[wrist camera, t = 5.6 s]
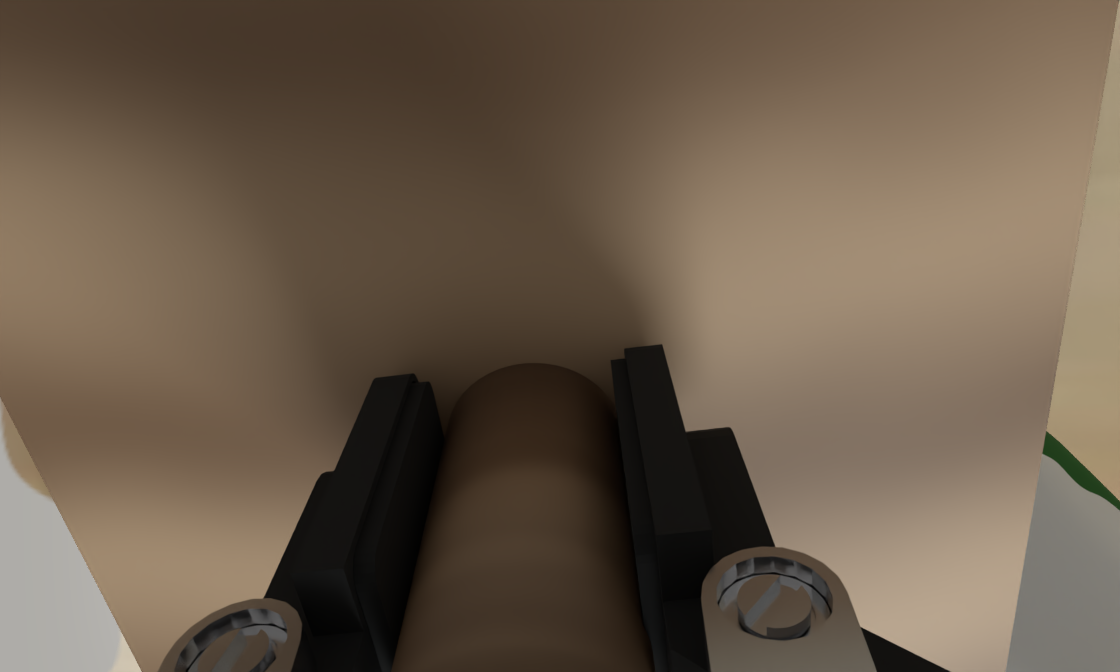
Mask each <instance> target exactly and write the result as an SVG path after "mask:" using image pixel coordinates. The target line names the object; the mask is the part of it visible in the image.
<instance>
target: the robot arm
mask: <svg viewBox="0 0 1120 672" xmlns="http://www.w3.org/2000/svg"><path fill="white" fill-rule="evenodd" d="M624 355H625V358H624V359H616V360H610V361H611V370H612V378H613V387H614V396H615V404H616V413H617V422H618V430H619V437H620V445H621V453H622V461H623V469H624V476H625V484H626V492H627V500H628V508H629V515H630V523H631V531H632V539H633V547H634V554H635V562H636V570H637V578H638V586H639V593H640V601H641V609H642V617H643V625H644V628H645V630H646V632H647V634H648V637H649V639H650V642H651V646H652V651H653V656H654V664H655V671H656V672H950V671H948V670H946V669H944V668H942V667H940V666H938V665H936V664H934V663H932V662H930V661H928V660H926V659H924V658H922V657H920V656H918V655H916V654H914V653H912V652H910V651H908V650H906V649H904V648H902V647H900V646H898V645H896V644H894V643H892V642H890V641H888V640H886V639H884V638H882V637H880V636H878V635H876V634H874V633H872V632H870V631H868V630H866V629H864V628H862V627H860V624H859V622H858V619H857V616H856V613H855V611H854V608H853V605H852V603H851V600H850V597H849V594H848V592H847V590H846V588H845V587H844V585H843V583H842V582H841V580H840V578H839V577H838V575H836V574H835V573H834V572H833V571H832V570H831V569H830V568H829V567H827V566H826V565H825V564H824V563H823V562H821V561H819V560H817V559H815V558H813V557H811V556H809V555H807V554H805V553H802V552H798V551H795V550H791V549H787V548H783V547H775V544H774V541H773V539H772V536H771V533H770V530H769V528H768V525H767V522H766V520H765V517H764V514H763V511H762V509H761V506H760V503H759V500H758V498H757V495H756V492H755V490H754V487H753V484H752V481H751V479H750V476H749V473H748V470H747V468H746V465H745V462H744V460H743V457H742V454H741V451H740V449H739V446H738V443H737V440H736V438H735V435H734V433H733V431H732V429H731V428H730V427H724V428H714V429H705V430H696V431H687V432H686V431H685V427H684V423H683V420H682V416H681V412H680V408H679V405H678V401H677V397H676V393H675V390H674V386H673V382H672V379H671V375H670V371H669V367H668V364H667V360H666V356H665V352H664V349H663V345H662V344H658V345H650V346H641V347H633V348H624ZM444 440H445V439H444V435H443V431H442V426H441V422H440V418H439V414H438V409H437V405H436V401H435V396H434V392H433V389H432V386H431V383H430V382H429V381H427V382H419V381H418V379H417V377H416V375H415V374H414V373H411V374H403V375H394V376H386V377H377V378H374V380H373V381H372V384H371V386H370V388H369V391H368V393H367V395H366V398H365V400H364V402H363V405H362V407H361V409H360V412H359V414H358V416H357V419H356V421H355V423H354V426H353V428H352V430H351V433H350V435H349V437H348V440H347V442H346V444H345V447H344V449H343V451H342V454H341V456H340V458H339V461H338V463H337V465H336V468H335V470H334V471H328V472H324V473H322V474H321V475H320V477H319V478H318V480H317V481H316V483H315V486H314V488H313V490H312V492H311V494H310V497H309V499H308V501H307V503H306V505H305V508H304V510H303V512H302V514H301V516H300V519H299V521H298V523H297V525H296V527H295V530H294V532H293V534H292V536H291V538H290V541H289V543H288V545H287V547H286V550H285V552H284V554H283V556H282V558H281V561H280V563H279V565H278V567H277V569H276V572H275V574H274V576H273V578H272V580H271V583H270V585H269V587H268V589H267V591H266V594H265V596H264V598H262V599H249V600H245V601H241V602H237V603H233V604H230V605H228V606H226V607H224V608H222V609H219V610H217V611H215V612H213V613H211V614H209V615H208V616H206V617H205V618H203V619H202V620H200V621H199V622H197V623H196V624H194V625H193V626H191V627H190V628H189V629H188V630H187V631H186V632H185V633H184V634H183V635H182V636H181V637H180V638H179V639H178V640H177V641H176V642H175V643H174V645H173V646H172V648H171V649H170V651H169V652H168V654H167V655H166V657H165V658H164V660H163V662H162V664H161V666H160V668H159V670H158V672H391V670H392V666H393V661H394V657H395V653H396V648H397V644H398V640H399V635H400V631H401V627H402V622H403V618H404V614H405V609H406V605H407V600H408V596H409V592H410V587H411V583H412V579H413V574H414V570H415V566H416V561H417V557H418V553H419V548H420V544H421V540H422V535H423V531H424V527H425V522H426V518H427V514H428V509H429V505H430V501H431V496H432V492H433V488H434V483H435V479H436V475H437V470H438V466H439V462H440V457H441V453H442V449H443V444H444Z"/></svg>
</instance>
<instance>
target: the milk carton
mask: <svg viewBox="0 0 1120 672" xmlns="http://www.w3.org/2000/svg"><path fill="white" fill-rule="evenodd" d="M1005 672H1120V501H1119V500H1118V499H1117V498H1116V497H1115V496H1114V495H1113V494H1112V493H1111V492H1110V491H1109V490H1108V489H1107V488H1106V487H1105V486H1104V485H1103V484H1102V483H1101V482H1100V481H1099V480H1098V479H1097V478H1096V477H1095V476H1094V475H1093V474H1092V473H1091V472H1090V471H1089V470H1088V469H1087V468H1086V467H1085V466H1084V465H1083V464H1081V463H1080V462H1079V461H1078V460H1077V459H1076V458H1075V457H1074V456H1073V455H1072V454H1071V453H1070V452H1069V451H1068V450H1067V449H1066V448H1065V447H1064V446H1063V445H1062V444H1061V443H1060V442H1059V441H1058V440H1056V439H1055V438H1054V437H1053V436H1052V435H1051V434H1049V433H1048V432H1047V431H1046V435H1045V440H1044V446H1043V452H1042V458H1041V464H1040V470H1039V476H1038V482H1037V488H1036V494H1035V500H1034V506H1033V512H1032V517H1031V523H1030V529H1029V535H1028V541H1027V547H1026V553H1025V559H1024V565H1023V571H1022V577H1021V583H1020V589H1019V594H1018V600H1017V606H1016V612H1015V618H1014V624H1013V630H1012V636H1011V642H1010V648H1009V654H1008V660H1007V666H1006V671H1005Z"/></svg>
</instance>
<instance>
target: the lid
mask: <svg viewBox="0 0 1120 672" xmlns="http://www.w3.org/2000/svg"><path fill="white" fill-rule="evenodd" d="M1118 2H1119V0H0V397H1V399H2V401H3V403H4V405H5V407H6V409H7V411H8V413H9V415H10V417H11V419H12V421H13V423H14V425H15V426H16V428H17V430H18V432H19V434H20V436H21V438H22V440H23V442H24V444H25V446H26V448H27V450H28V452H29V454H30V456H31V457H32V459H33V461H34V463H35V465H36V467H37V469H38V471H39V473H40V475H41V477H42V479H43V481H44V483H45V485H46V487H47V488H48V490H49V492H50V494H51V496H52V498H53V500H54V502H55V504H56V506H57V508H58V510H59V512H60V514H61V515H62V518H63V520H64V521H65V523H66V525H67V527H68V529H69V531H70V533H71V535H72V537H73V539H74V541H75V543H76V545H77V547H78V549H79V550H80V552H81V554H82V556H83V558H84V560H85V562H86V564H87V566H88V568H89V570H90V572H91V574H92V576H93V578H94V579H95V582H96V583H97V585H98V587H99V589H100V591H101V593H102V595H103V597H104V599H105V601H106V603H107V605H108V607H109V609H110V611H111V613H112V614H113V616H114V618H115V620H116V622H117V624H118V626H119V628H120V630H121V632H122V634H123V636H124V638H125V640H126V642H127V644H128V646H129V647H130V649H131V651H132V653H133V655H134V657H135V659H136V661H137V663H138V665H139V667H140V669H141V671H142V672H158V670H159V668H160V666H161V664H162V662H163V660H164V658H165V657H166V655H167V654H168V652H169V651H170V649H171V648H172V646H173V645H174V643H175V642H176V641H177V640H178V639H179V638H180V637H181V636H182V635H183V634H184V633H185V632H186V631H187V630H188V629H189V628H190V627H191V626H193V625H194V624H196V623H197V622H199V621H200V620H202V619H203V618H205V617H206V616H208V615H209V614H211V613H213V612H215V611H217V610H219V609H222V608H224V607H226V606H228V605H230V604H233V603H237V602H241V601H245V600H249V599H262V598H264V596H265V594H266V591H267V589H268V587H269V585H270V583H271V580H272V578H273V576H274V574H275V572H276V569H277V567H278V565H279V563H280V561H281V558H282V556H283V554H284V552H285V550H286V547H287V545H288V543H289V541H290V538H291V536H292V534H293V532H294V530H295V527H296V525H297V523H298V521H299V519H300V516H301V514H302V512H303V510H304V508H305V505H306V503H307V501H308V499H309V497H310V494H311V492H312V490H313V488H314V486H315V483H316V481H317V480H318V478H319V477H320V475H321V474H322V473H324V472H328V471H334V470H335V468H336V465H337V463H338V461H339V458H340V456H341V454H342V451H343V449H344V447H345V444H346V442H347V440H348V437H349V435H350V433H351V430H352V428H353V426H354V423H355V421H356V419H357V416H358V414H359V412H360V409H361V407H362V405H363V402H364V400H365V398H366V395H367V393H368V391H369V388H370V386H371V384H372V381H373V380H374V378H377V377H386V376H394V375H403V374H411V373H414V374H415V375H416V377H417V379H418V381H419V382H427V381H429V382H430V383H431V386H432V389H433V392H434V396H435V401H436V405H437V409H438V414H439V418H440V422H441V426H442V431H443V435H444V439H445V440H444V444H443V449H442V453H441V457H440V462H439V466H438V470H437V475H436V479H435V483H434V488H433V492H432V496H431V501H430V505H429V509H428V514H427V518H426V522H425V527H424V531H423V535H422V540H421V544H420V548H419V553H418V557H417V561H416V566H415V570H414V574H413V579H412V583H411V587H410V592H409V596H408V600H407V605H406V609H405V614H404V618H403V622H402V627H401V631H400V635H399V640H398V644H397V648H396V653H395V657H394V661H393V666H392V670H391V672H656V671H655V664H654V656H653V651H652V646H651V642H650V639H649V637H648V634H647V632H646V630H645V628H644V625H643V617H642V609H641V601H640V593H639V586H638V578H637V570H636V562H635V554H634V547H633V539H632V531H631V523H630V515H629V508H628V500H627V492H626V484H625V476H624V469H623V461H622V453H621V445H620V437H619V430H618V422H617V413H616V404H615V396H614V387H613V378H612V370H611V361H610V360H616V359H624V358H625V355H624V348H633V347H641V346H650V345H658V344H662V345H663V349H664V352H665V356H666V360H667V364H668V367H669V371H670V375H671V379H672V382H673V386H674V390H675V393H676V397H677V401H678V405H679V408H680V412H681V416H682V420H683V423H684V427H685V431H686V432H687V431H696V430H705V429H714V428H724V427H730V428H731V429H732V431H733V433H734V435H735V438H736V440H737V443H738V446H739V449H740V451H741V454H742V457H743V460H744V462H745V465H746V468H747V470H748V473H749V476H750V479H751V481H752V484H753V487H754V490H755V492H756V495H757V498H758V500H759V503H760V506H761V509H762V511H763V514H764V517H765V520H766V522H767V525H768V528H769V530H770V533H771V536H772V539H773V541H774V544H775V547H783V548H787V549H791V550H795V551H798V552H802V553H805V554H807V555H809V556H811V557H813V558H815V559H817V560H819V561H821V562H823V563H824V564H825V565H826V566H827V567H829V568H830V569H831V570H832V571H833V572H834V573H835V574H836V575H838V577H839V578H840V580H841V582H842V583H843V585H844V587H845V588H846V590H847V592H848V594H849V597H850V600H851V603H852V605H853V608H854V611H855V613H856V616H857V619H858V622H859V624H860V627H862V628H864V629H866V630H868V631H870V632H872V633H874V634H876V635H878V636H880V637H882V638H884V639H886V640H888V641H890V642H892V643H894V644H896V645H898V646H900V647H902V648H904V649H906V650H908V651H910V652H912V653H914V654H916V655H918V656H920V657H922V658H924V659H926V660H928V661H930V662H932V663H934V664H936V665H938V666H940V667H942V668H944V669H946V670H948V671H950V672H1005V671H1006V666H1007V660H1008V654H1009V648H1010V642H1011V636H1012V630H1013V624H1014V618H1015V612H1016V606H1017V600H1018V594H1019V589H1020V583H1021V577H1022V571H1023V565H1024V559H1025V553H1026V547H1027V541H1028V535H1029V529H1030V523H1031V517H1032V512H1033V506H1034V500H1035V494H1036V488H1037V482H1038V476H1039V470H1040V464H1041V458H1042V452H1043V446H1044V440H1045V435H1046V429H1047V423H1048V417H1049V411H1050V405H1051V399H1052V393H1053V387H1054V381H1055V375H1056V369H1057V363H1058V358H1059V352H1060V346H1061V340H1062V334H1063V328H1064V322H1065V316H1066V310H1067V304H1068V298H1069V292H1070V286H1071V281H1072V275H1073V269H1074V263H1075V257H1076V251H1077V245H1078V239H1079V233H1080V227H1081V221H1082V215H1083V210H1084V204H1085V198H1086V192H1087V186H1088V180H1089V174H1090V168H1091V162H1092V156H1093V150H1094V144H1095V138H1096V133H1097V127H1098V121H1099V115H1100V109H1101V103H1102V97H1103V91H1104V85H1105V79H1106V73H1107V67H1108V61H1109V56H1110V50H1111V44H1112V38H1113V32H1114V26H1115V20H1116V14H1117V8H1118Z"/></svg>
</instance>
